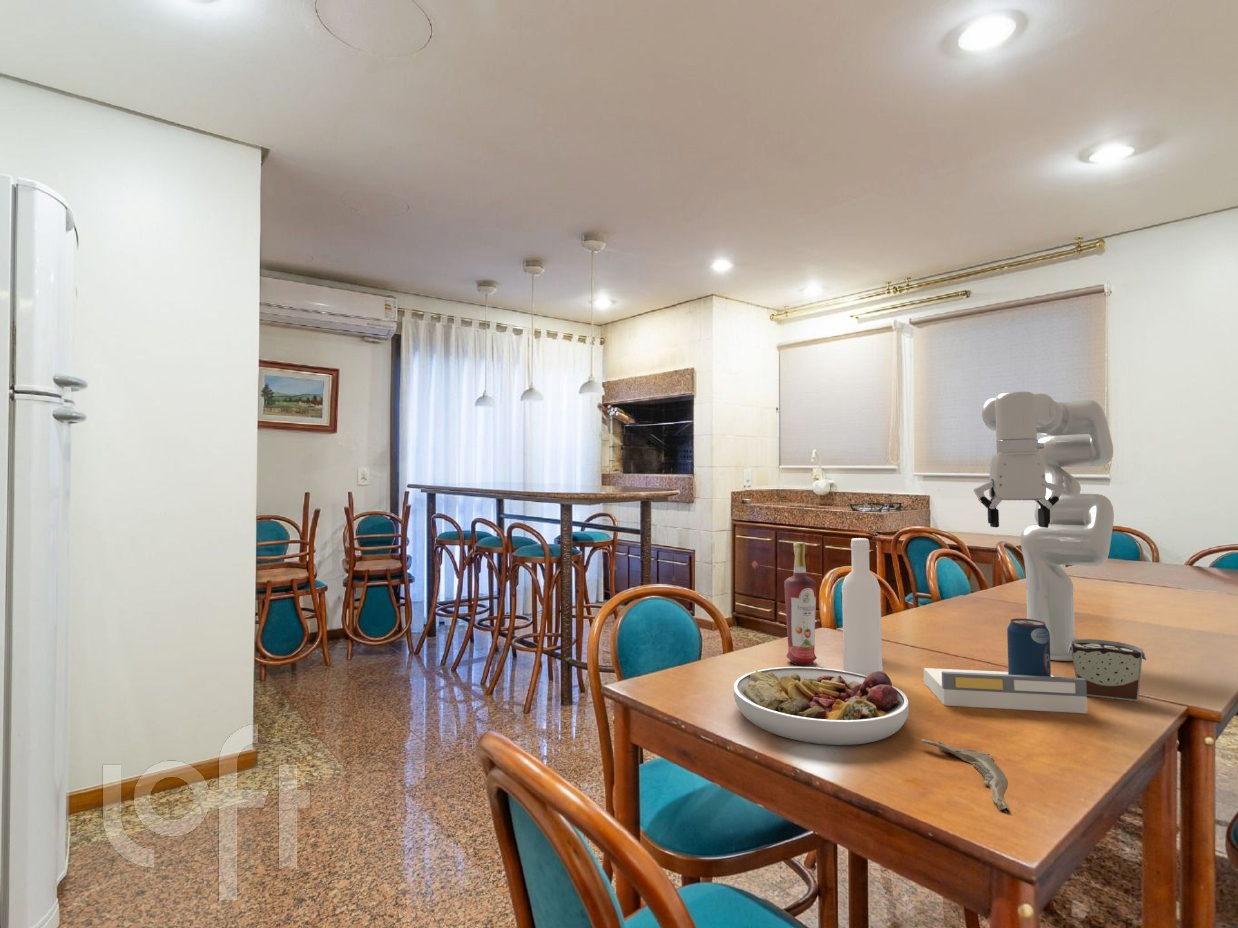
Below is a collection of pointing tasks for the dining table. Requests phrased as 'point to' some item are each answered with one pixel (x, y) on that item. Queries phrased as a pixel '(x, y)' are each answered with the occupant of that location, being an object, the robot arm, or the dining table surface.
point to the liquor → (800, 611)
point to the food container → (1108, 667)
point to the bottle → (861, 614)
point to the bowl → (822, 704)
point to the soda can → (1028, 648)
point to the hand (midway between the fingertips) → (1018, 527)
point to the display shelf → (1007, 690)
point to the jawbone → (981, 770)
